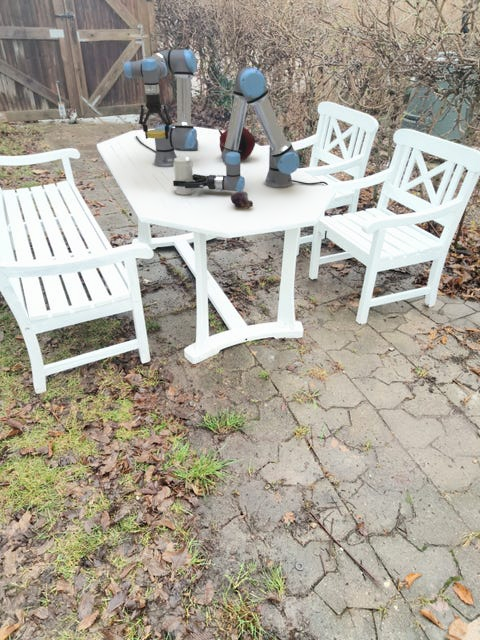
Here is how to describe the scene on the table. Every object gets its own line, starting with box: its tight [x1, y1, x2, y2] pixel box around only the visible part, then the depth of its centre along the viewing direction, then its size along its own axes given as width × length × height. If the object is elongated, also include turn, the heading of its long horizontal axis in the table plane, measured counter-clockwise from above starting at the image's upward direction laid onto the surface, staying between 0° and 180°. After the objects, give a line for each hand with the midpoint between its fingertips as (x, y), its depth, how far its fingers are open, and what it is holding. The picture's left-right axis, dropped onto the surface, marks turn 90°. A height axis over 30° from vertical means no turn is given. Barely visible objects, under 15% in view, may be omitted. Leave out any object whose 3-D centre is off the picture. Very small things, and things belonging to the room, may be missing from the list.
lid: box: [147, 129, 166, 139], centre depth 244 cm, size 11×11×2 cm
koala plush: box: [175, 138, 199, 151], centre depth 321 cm, size 17×18×20 cm
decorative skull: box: [218, 126, 257, 162], centre depth 296 cm, size 21×24×25 cm
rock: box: [230, 190, 254, 209], centre depth 225 cm, size 12×9×10 cm
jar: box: [173, 156, 195, 196], centre depth 243 cm, size 10×10×18 cm
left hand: (157, 138), depth 245 cm, fingers closed on lid, 11 cm apart
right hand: (176, 180), depth 246 cm, fingers closed on jar, 10 cm apart
